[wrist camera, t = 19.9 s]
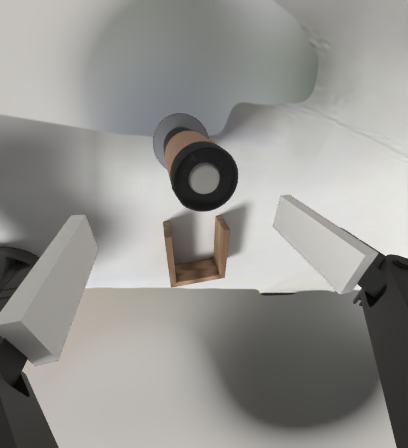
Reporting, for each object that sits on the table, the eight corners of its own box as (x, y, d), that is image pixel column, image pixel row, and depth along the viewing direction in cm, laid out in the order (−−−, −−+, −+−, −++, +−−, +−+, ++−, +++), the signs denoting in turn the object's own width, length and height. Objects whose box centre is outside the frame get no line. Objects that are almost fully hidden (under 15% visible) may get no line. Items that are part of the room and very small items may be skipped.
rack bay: (169, 269, 54) (171, 287, 49) (163, 222, 45) (164, 237, 40) (217, 261, 57) (224, 277, 52) (221, 215, 48) (229, 229, 43)
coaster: (156, 174, 39) (157, 175, 38) (149, 113, 33) (149, 113, 32) (207, 171, 41) (208, 172, 40) (208, 113, 35) (210, 113, 34)
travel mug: (205, 133, 36) (251, 157, 20) (193, 171, 39) (223, 218, 23) (167, 118, 33) (183, 132, 17) (157, 160, 37) (163, 205, 20)
